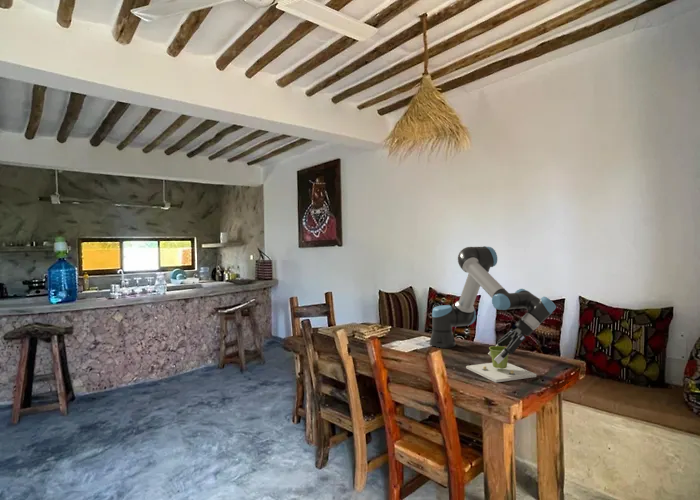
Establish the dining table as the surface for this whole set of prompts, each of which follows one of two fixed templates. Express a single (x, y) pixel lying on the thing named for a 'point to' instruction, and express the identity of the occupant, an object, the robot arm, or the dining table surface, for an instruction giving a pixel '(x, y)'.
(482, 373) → the pin board
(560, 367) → the dining table surface
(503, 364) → the plant pot
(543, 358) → the dining table surface
